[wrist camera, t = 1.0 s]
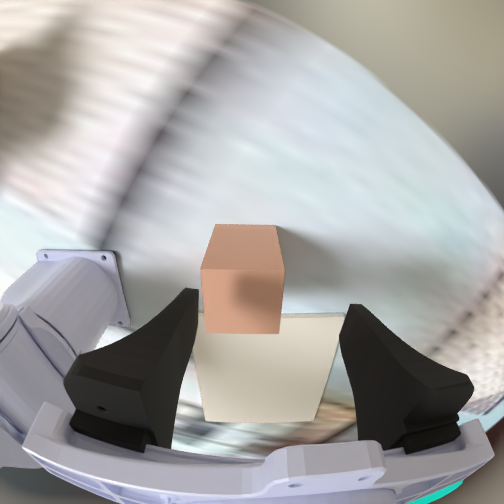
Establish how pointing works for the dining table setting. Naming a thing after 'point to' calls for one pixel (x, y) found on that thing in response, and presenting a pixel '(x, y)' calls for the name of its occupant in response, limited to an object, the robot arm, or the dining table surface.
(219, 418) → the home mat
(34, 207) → the dining table surface
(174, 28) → the dining table surface
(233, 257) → the block
